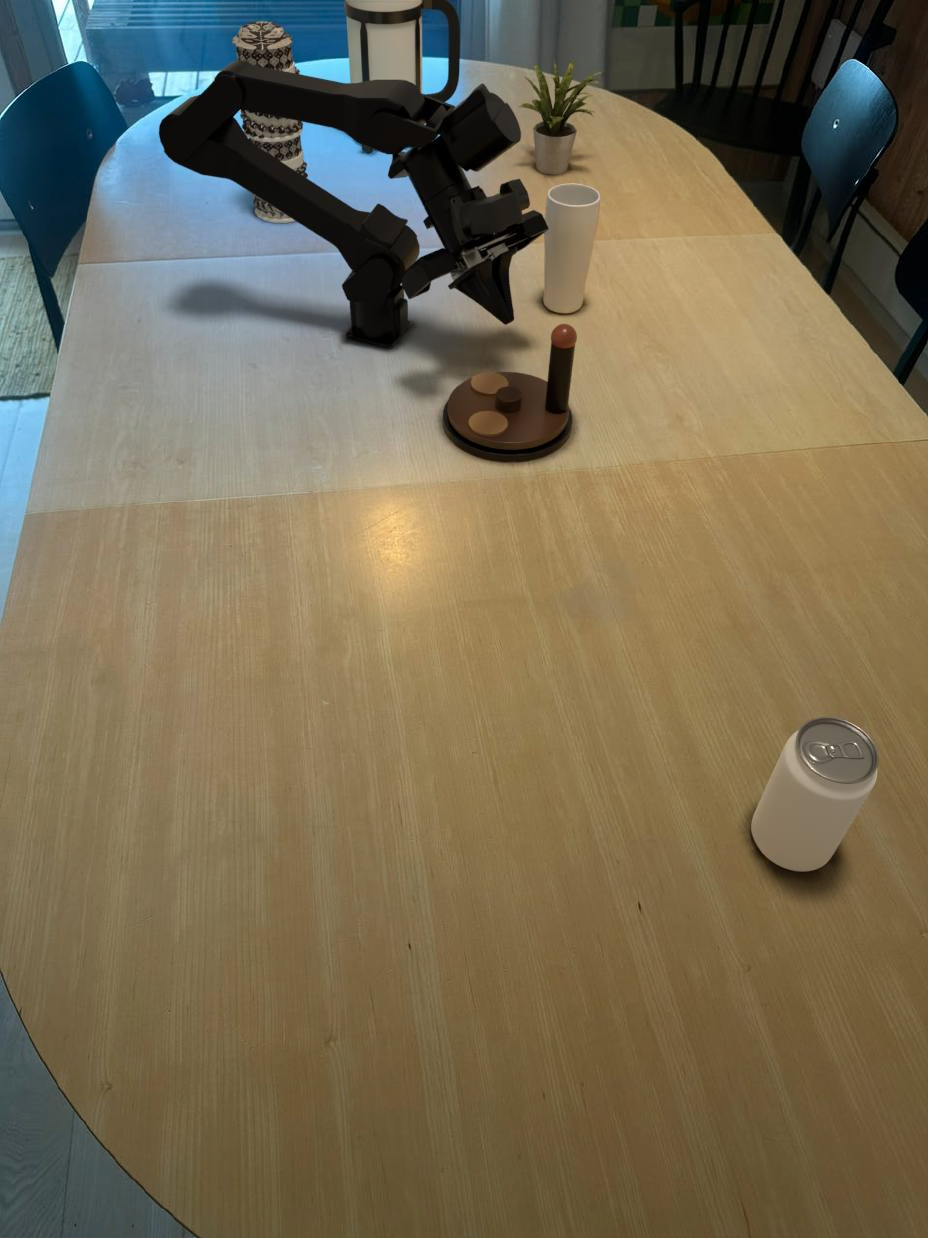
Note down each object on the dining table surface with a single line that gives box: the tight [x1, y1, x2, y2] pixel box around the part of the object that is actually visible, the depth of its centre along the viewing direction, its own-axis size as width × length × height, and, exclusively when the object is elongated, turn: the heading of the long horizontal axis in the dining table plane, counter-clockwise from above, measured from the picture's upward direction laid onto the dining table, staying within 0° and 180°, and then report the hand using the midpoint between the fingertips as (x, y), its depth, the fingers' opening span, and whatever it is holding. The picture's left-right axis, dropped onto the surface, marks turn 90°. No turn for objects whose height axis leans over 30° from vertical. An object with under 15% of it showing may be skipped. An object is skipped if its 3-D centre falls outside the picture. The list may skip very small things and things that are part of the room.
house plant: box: [517, 58, 605, 176], centre depth 154 cm, size 14×14×16 cm
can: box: [750, 716, 880, 872], centre depth 72 cm, size 6×6×12 cm
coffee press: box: [343, 0, 461, 154], centre depth 158 cm, size 17×16×30 cm
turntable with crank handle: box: [447, 323, 578, 450], centre depth 108 cm, size 14×14×11 cm
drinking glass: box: [542, 182, 601, 314], centre depth 126 cm, size 7×7×15 cm
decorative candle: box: [231, 21, 309, 224], centre depth 139 cm, size 9×9×25 cm
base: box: [442, 400, 574, 463], centre depth 112 cm, size 15×15×1 cm
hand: (510, 322), depth 112 cm, fingers closed
